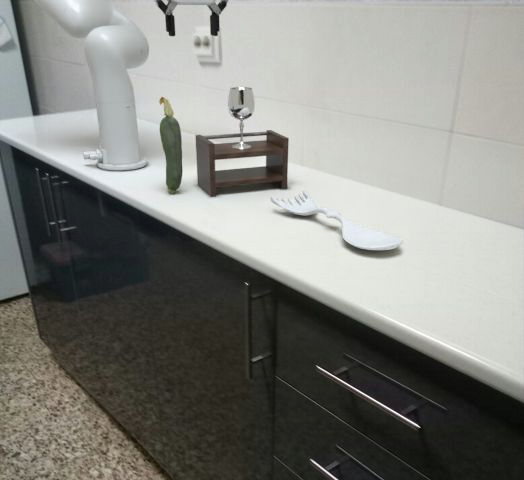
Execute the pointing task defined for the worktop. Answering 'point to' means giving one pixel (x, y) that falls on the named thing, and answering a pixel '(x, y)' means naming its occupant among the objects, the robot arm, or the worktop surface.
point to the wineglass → (241, 109)
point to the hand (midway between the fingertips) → (193, 35)
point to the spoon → (350, 230)
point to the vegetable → (171, 147)
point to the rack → (271, 148)
